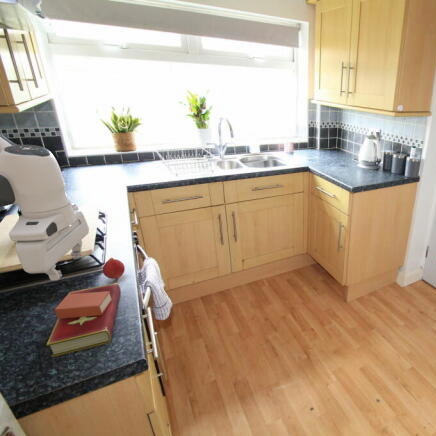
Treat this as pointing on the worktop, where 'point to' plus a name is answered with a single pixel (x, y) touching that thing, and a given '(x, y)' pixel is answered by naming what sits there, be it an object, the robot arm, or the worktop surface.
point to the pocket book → (83, 305)
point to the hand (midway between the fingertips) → (67, 267)
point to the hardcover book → (85, 326)
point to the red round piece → (113, 268)
